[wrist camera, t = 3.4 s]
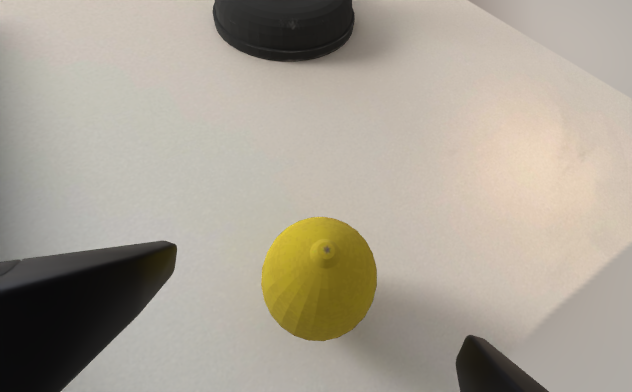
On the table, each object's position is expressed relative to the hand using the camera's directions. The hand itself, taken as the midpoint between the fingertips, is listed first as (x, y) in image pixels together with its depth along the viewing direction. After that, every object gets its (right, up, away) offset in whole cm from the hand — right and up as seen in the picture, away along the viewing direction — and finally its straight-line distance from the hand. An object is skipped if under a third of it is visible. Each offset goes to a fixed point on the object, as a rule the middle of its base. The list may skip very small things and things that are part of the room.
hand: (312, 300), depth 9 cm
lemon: (0, -3, +9) cm, 10 cm away
